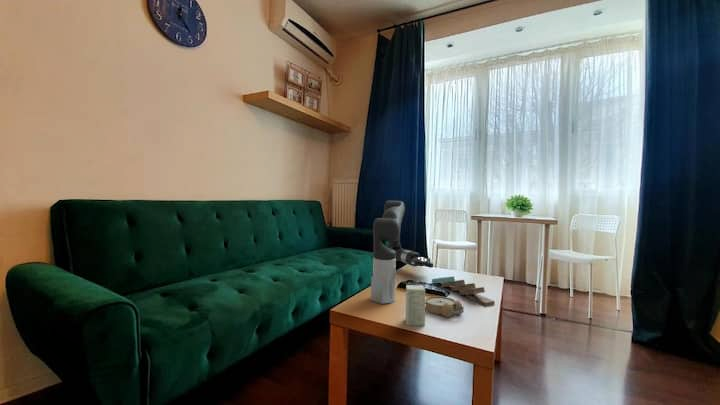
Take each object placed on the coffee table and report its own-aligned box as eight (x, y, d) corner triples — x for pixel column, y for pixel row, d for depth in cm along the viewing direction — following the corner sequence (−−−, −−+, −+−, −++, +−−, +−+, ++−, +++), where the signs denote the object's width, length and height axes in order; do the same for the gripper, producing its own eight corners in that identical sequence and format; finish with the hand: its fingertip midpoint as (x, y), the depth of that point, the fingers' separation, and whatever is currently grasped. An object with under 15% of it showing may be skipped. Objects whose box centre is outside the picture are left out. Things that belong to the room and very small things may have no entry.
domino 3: (469, 293, 124) (485, 292, 115) (459, 295, 123) (475, 293, 114) (468, 288, 125) (483, 287, 116) (458, 290, 123) (473, 288, 114)
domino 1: (449, 285, 135) (465, 284, 127) (441, 287, 133) (456, 285, 124) (448, 281, 136) (464, 279, 127) (440, 282, 133) (455, 280, 125)
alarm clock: (438, 294, 115) (470, 299, 103) (439, 307, 115) (472, 314, 102) (418, 299, 109) (450, 306, 96) (419, 313, 108) (452, 321, 96)
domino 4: (474, 297, 122) (494, 306, 113) (465, 299, 120) (485, 307, 111) (474, 292, 122) (494, 301, 113) (466, 294, 120) (485, 302, 111)
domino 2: (460, 289, 129) (475, 287, 121) (451, 291, 128) (466, 289, 119) (459, 285, 130) (474, 283, 121) (450, 286, 128) (465, 284, 119)
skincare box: (423, 320, 97) (424, 285, 97) (425, 326, 93) (426, 289, 93) (404, 319, 98) (405, 284, 98) (405, 324, 94) (406, 288, 93)
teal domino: (440, 282, 140) (454, 280, 132) (432, 283, 138) (447, 282, 130) (439, 277, 141) (453, 276, 133) (431, 279, 139) (446, 277, 130)
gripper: (401, 252, 154) (422, 259, 139) (420, 250, 160) (442, 256, 145) (400, 265, 155) (421, 274, 139) (419, 263, 161) (441, 271, 145)
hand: (432, 265), depth 142 cm, fingers closed
